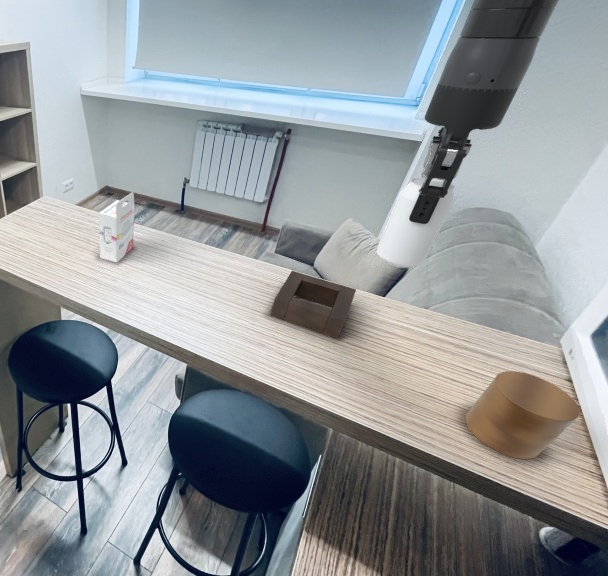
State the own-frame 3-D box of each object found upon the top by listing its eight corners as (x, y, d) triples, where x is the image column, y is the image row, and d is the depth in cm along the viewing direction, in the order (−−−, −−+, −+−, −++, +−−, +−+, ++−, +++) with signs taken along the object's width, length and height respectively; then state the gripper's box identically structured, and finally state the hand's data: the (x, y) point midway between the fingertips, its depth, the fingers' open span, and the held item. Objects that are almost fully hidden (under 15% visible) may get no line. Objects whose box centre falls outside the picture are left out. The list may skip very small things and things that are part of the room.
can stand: (349, 305, 80) (356, 289, 78) (337, 338, 72) (345, 321, 70) (287, 286, 86) (291, 270, 84) (270, 315, 78) (274, 298, 76)
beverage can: (408, 275, 58) (446, 194, 52) (365, 257, 63) (395, 181, 56) (430, 263, 61) (470, 185, 54) (388, 246, 65) (419, 173, 59)
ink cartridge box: (116, 243, 103) (116, 187, 94) (133, 247, 100) (136, 190, 92) (98, 258, 97) (97, 199, 88) (116, 263, 94) (117, 204, 86)
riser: (546, 436, 56) (586, 398, 51) (531, 471, 52) (573, 432, 47) (475, 400, 61) (505, 362, 56) (456, 429, 57) (487, 390, 52)
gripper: (528, 92, 42) (452, 239, 51) (513, 76, 51) (451, 202, 60) (438, 87, 45) (382, 225, 55) (440, 73, 55) (392, 193, 64)
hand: (419, 213), depth 57 cm, fingers closed on beverage can, 6 cm apart
